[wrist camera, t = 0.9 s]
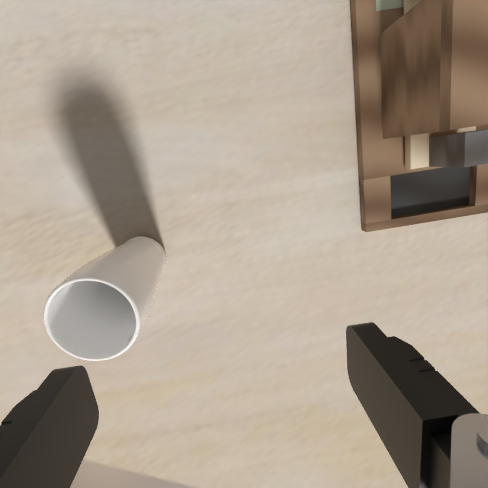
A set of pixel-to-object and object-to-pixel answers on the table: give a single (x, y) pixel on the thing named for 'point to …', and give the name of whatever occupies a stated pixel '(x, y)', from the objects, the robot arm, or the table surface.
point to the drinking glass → (106, 301)
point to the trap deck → (418, 105)
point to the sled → (445, 142)
